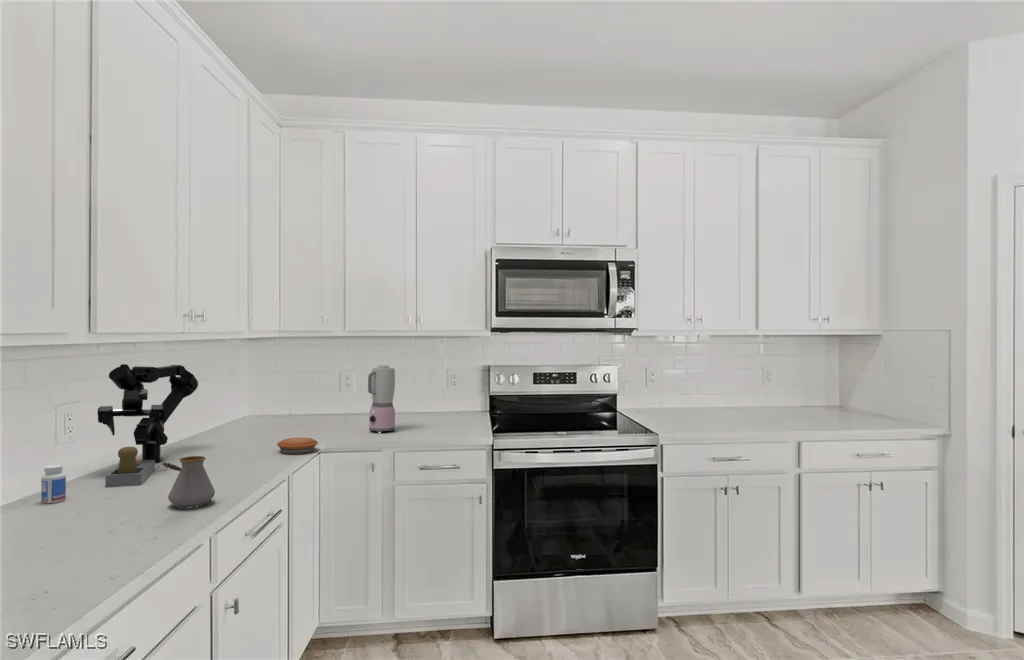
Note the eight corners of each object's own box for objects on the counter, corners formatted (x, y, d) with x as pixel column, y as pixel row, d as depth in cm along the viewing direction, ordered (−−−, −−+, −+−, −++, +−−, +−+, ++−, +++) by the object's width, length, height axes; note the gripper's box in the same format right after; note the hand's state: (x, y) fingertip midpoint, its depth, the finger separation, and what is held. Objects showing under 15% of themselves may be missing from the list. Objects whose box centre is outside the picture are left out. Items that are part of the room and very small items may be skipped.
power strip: (122, 471, 198) (122, 459, 198) (154, 469, 201) (154, 457, 201) (105, 487, 179) (105, 473, 179) (141, 484, 182) (141, 471, 182)
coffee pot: (181, 498, 169) (182, 446, 169) (221, 498, 170) (223, 446, 170) (137, 522, 148) (138, 463, 148) (184, 523, 148) (185, 463, 148)
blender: (382, 428, 294) (384, 364, 294) (400, 431, 287) (401, 365, 287) (358, 432, 281) (359, 365, 281) (376, 435, 274) (377, 367, 274)
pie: (276, 456, 226) (277, 443, 226) (276, 448, 240) (277, 436, 240) (318, 454, 231) (319, 441, 231) (316, 446, 246) (316, 435, 246)
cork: (134, 478, 189) (135, 444, 189) (141, 482, 185) (142, 447, 185) (112, 482, 184) (113, 447, 184) (119, 485, 180) (120, 450, 180)
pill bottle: (68, 497, 167) (69, 463, 167) (61, 503, 162) (62, 467, 162) (45, 499, 165) (46, 464, 165) (37, 504, 160) (38, 468, 160)
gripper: (99, 381, 192) (94, 419, 182) (165, 381, 201) (164, 417, 192) (100, 403, 199) (96, 441, 189) (164, 401, 208) (163, 437, 198)
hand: (130, 433), depth 192 cm, fingers open, 9 cm apart
